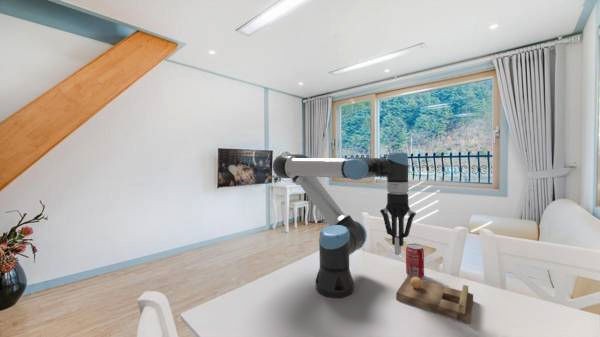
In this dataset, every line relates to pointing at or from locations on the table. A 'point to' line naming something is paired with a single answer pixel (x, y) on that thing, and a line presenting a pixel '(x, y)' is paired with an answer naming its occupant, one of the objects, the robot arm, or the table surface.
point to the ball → (416, 282)
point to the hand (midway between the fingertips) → (397, 253)
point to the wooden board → (438, 299)
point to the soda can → (414, 260)
